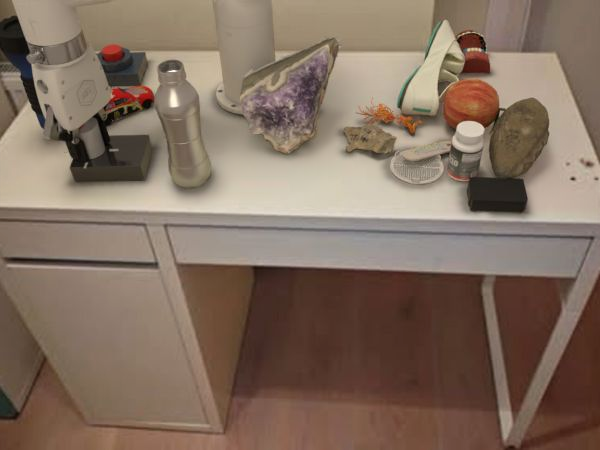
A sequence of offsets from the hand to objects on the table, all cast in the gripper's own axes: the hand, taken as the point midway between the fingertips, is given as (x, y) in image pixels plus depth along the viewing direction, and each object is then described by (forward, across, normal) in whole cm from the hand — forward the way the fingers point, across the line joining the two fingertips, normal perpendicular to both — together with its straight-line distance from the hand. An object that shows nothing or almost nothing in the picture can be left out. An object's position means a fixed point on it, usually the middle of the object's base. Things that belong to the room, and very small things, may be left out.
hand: (91, 149), depth 103 cm
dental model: (+1, +49, -48) cm, 68 cm away
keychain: (+2, +25, -46) cm, 53 cm away
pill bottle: (+4, +22, -54) cm, 58 cm away
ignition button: (0, +24, +14) cm, 28 cm away
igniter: (+3, +24, +14) cm, 28 cm away
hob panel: (+3, +1, -3) cm, 4 cm away
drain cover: (+4, +20, -47) cm, 51 cm away
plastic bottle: (+4, +3, -16) cm, 17 cm away
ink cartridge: (+2, +19, -64) cm, 67 cm away
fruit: (-1, +32, -47) cm, 57 cm away
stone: (+3, +29, -61) cm, 68 cm away
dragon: (+4, +29, -39) cm, 49 cm away
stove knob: (0, 0, 0) cm, 0 cm away
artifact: (+3, +24, -33) cm, 41 cm away
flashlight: (+4, +4, +12) cm, 13 cm away
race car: (+4, +14, +6) cm, 16 cm away
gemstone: (-3, +26, -21) cm, 34 cm away
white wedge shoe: (-1, +42, -39) cm, 58 cm away
